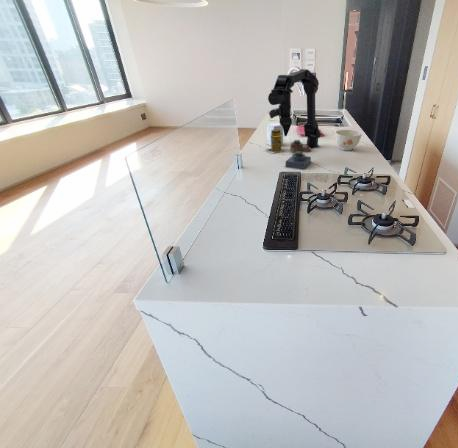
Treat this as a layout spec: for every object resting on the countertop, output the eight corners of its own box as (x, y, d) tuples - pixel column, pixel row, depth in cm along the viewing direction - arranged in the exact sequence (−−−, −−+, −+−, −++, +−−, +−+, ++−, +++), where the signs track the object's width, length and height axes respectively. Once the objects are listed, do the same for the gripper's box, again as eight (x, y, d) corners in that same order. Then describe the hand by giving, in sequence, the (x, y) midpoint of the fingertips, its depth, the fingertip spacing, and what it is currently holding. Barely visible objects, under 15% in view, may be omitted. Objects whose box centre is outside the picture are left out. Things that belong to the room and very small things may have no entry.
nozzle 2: (296, 154, 152) (296, 150, 151) (303, 155, 151) (303, 151, 150) (293, 156, 149) (293, 152, 148) (300, 157, 148) (301, 153, 147)
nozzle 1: (299, 142, 174) (299, 139, 173) (300, 144, 171) (300, 141, 170) (293, 143, 173) (293, 139, 172) (294, 144, 170) (294, 141, 169)
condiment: (283, 151, 172) (283, 130, 166) (271, 153, 168) (270, 132, 162) (277, 148, 177) (277, 128, 171) (265, 150, 173) (264, 130, 167)
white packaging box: (274, 146, 180) (273, 126, 173) (267, 144, 184) (266, 124, 178) (283, 144, 184) (283, 124, 177) (276, 142, 188) (276, 122, 182)
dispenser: (293, 159, 159) (293, 151, 156) (310, 162, 156) (311, 153, 153) (285, 166, 149) (285, 157, 146) (303, 169, 146) (303, 159, 144)
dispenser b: (306, 147, 179) (306, 140, 177) (309, 151, 172) (310, 144, 170) (290, 148, 176) (290, 141, 174) (293, 152, 170) (293, 145, 168)
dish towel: (317, 128, 224) (317, 125, 222) (323, 136, 204) (324, 132, 202) (296, 129, 222) (296, 125, 220) (300, 137, 202) (300, 133, 200)
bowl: (330, 150, 175) (331, 133, 170) (339, 144, 187) (340, 128, 182) (355, 154, 169) (357, 137, 164) (363, 147, 181) (365, 131, 176)
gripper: (269, 100, 152) (270, 130, 160) (268, 105, 136) (270, 138, 144) (290, 100, 153) (290, 130, 161) (292, 105, 137) (291, 138, 145)
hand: (285, 134), depth 153 cm, fingers open, 9 cm apart
